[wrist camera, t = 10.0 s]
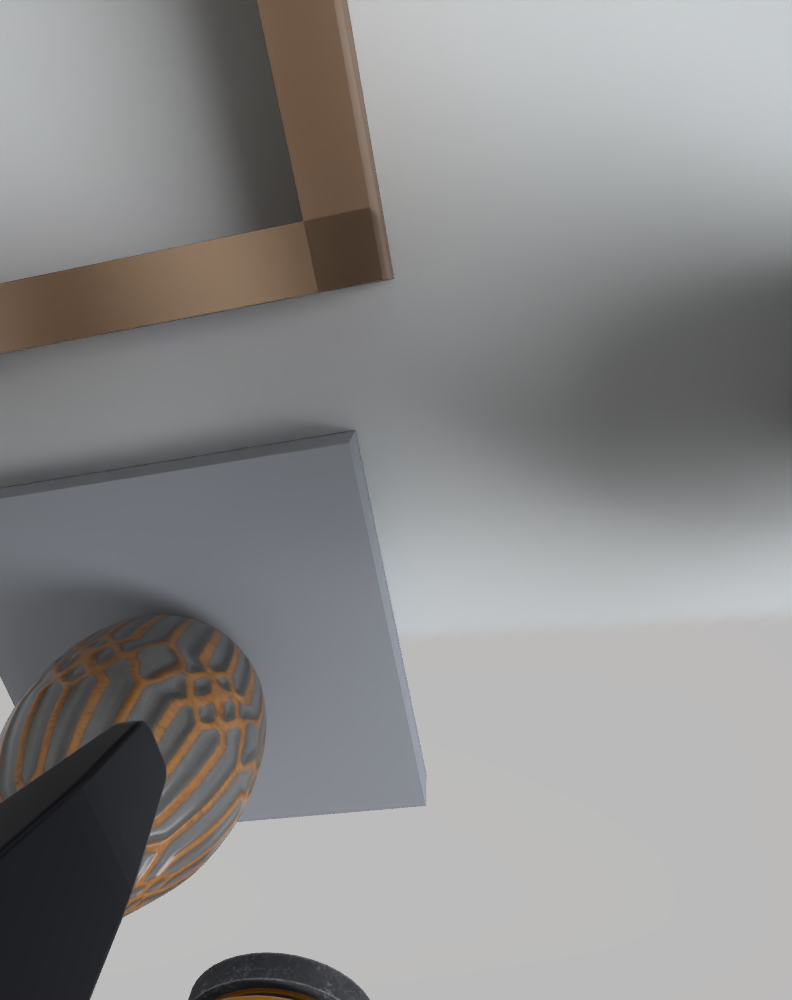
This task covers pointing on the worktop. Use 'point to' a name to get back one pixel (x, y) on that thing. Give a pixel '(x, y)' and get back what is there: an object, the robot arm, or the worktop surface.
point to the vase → (174, 722)
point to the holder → (254, 255)
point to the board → (234, 602)
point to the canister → (274, 980)
